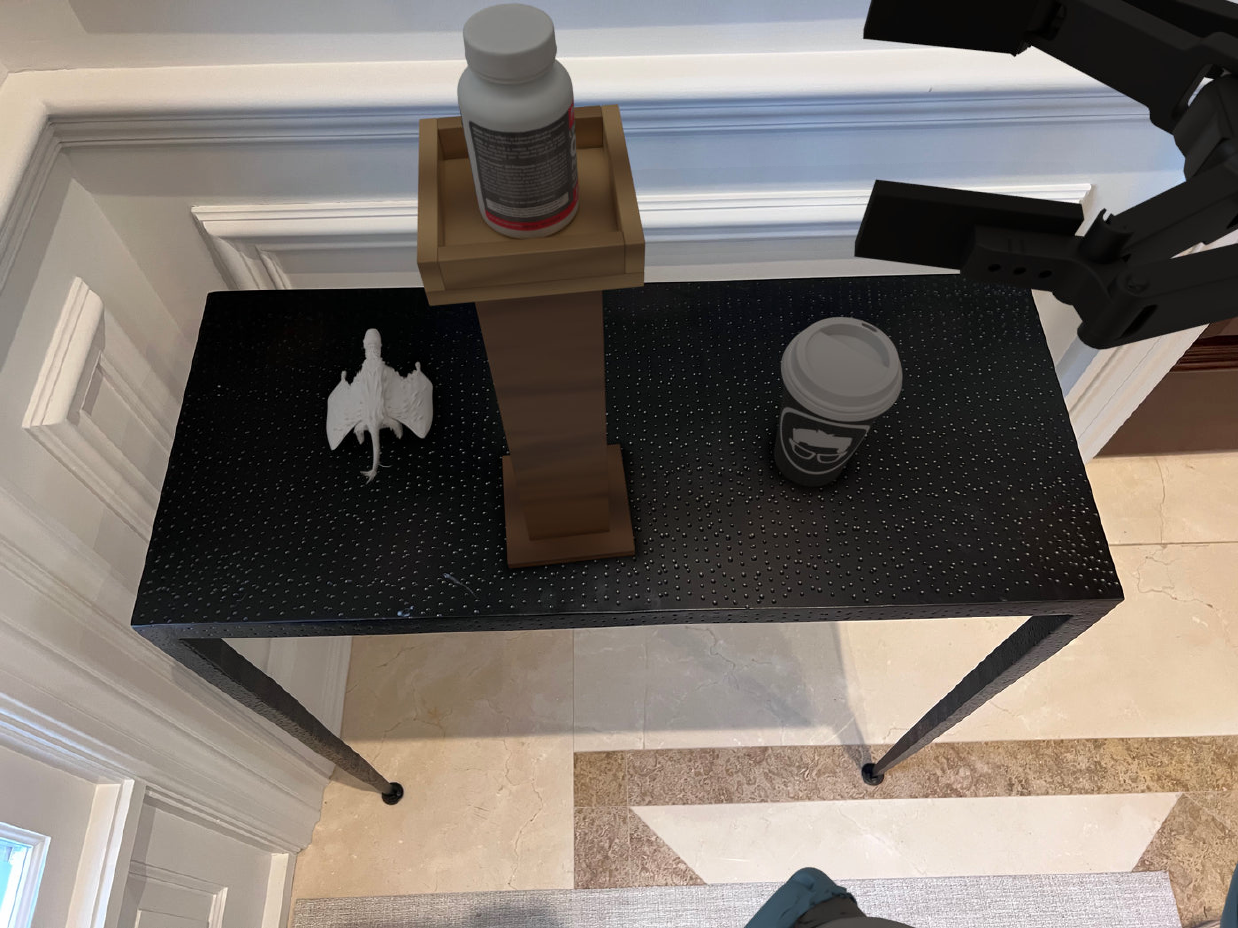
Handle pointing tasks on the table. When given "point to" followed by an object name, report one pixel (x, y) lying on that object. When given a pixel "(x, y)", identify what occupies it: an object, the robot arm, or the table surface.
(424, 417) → the winged dragon toy
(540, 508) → the wooden tray stand
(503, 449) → the table surface
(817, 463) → the coffee cup
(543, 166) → the pill bottle
